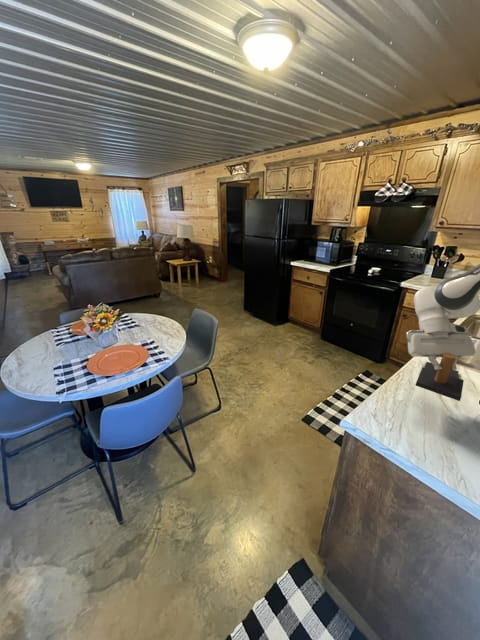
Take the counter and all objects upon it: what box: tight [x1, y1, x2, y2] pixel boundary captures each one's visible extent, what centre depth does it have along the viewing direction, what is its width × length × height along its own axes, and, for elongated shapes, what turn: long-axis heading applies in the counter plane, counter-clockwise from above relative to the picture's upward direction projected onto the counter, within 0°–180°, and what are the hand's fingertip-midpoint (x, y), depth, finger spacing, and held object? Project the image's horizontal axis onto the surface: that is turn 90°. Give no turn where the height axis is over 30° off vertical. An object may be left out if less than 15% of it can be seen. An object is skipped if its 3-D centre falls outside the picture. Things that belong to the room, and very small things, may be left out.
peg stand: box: [415, 353, 464, 402], centre depth 89 cm, size 16×12×12 cm
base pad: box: [424, 361, 459, 378], centre depth 116 cm, size 12×12×2 cm
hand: (446, 369), depth 87 cm, fingers closed on peg stand, 3 cm apart
